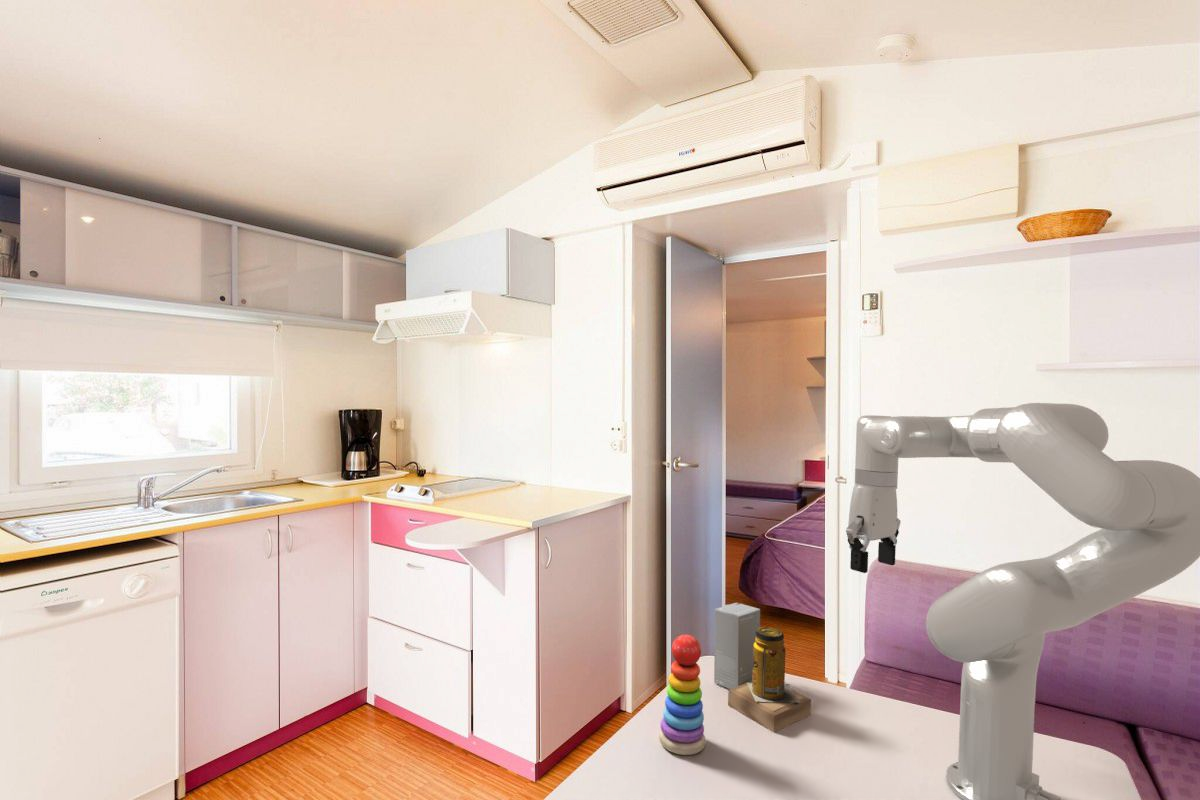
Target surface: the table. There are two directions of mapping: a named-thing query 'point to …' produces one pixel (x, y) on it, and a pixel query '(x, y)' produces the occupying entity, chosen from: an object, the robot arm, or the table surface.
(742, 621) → the skincare box
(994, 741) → the robot arm
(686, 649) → the stacking toy
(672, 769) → the table surface
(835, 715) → the table surface
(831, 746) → the table surface
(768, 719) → the base
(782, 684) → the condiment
